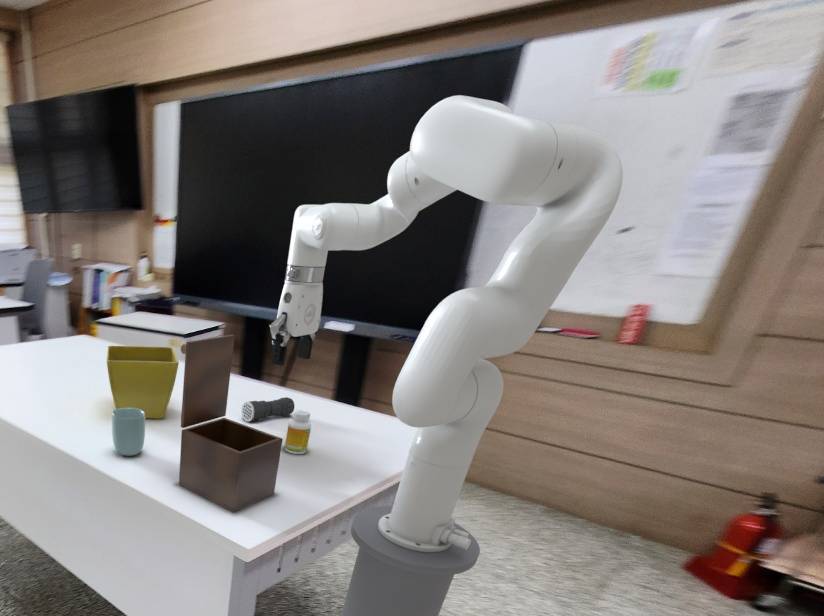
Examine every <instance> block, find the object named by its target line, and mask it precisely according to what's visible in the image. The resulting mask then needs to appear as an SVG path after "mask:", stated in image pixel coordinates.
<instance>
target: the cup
mask: <svg viewBox="0 0 824 616" xmlns="http://www.w3.org/2000/svg"><path fill="white" fill-rule="evenodd" d="M111 434H112V435H111V436H112V444H113V447H114V450H115V451H116V452H117V453H118V454H119V455H121V456H124V457H132V456H137V455H139V454H140V453H141V452H142V450H143V448H144V446H145V438H146V418H145V413H144V411H143V410H141V409H138V408H119V409H116V408H115V409H114V410H112V412H111Z"/></svg>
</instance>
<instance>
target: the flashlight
mask: <svg viewBox="0 0 824 616" xmlns="http://www.w3.org/2000/svg"><path fill="white" fill-rule="evenodd" d="M294 411H295V402H294V400H293V399H292V398H291V397H280V398H279V399H274V400H268V401H267V400H259V401H258V400H252V401H245V402H244V403H243V404H242V406H241V416H242V418H243V419H244V421H245V422H253V421H258V420H263V419H267V418H268V417H277V416H280V417H287V416H290V415H292V414H293V412H294Z"/></svg>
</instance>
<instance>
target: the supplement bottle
mask: <svg viewBox="0 0 824 616" xmlns="http://www.w3.org/2000/svg"><path fill="white" fill-rule="evenodd" d="M310 417H311V412H310V411H307V410H303V409H296V410H294V411H293V413H292V419H290V420H289V421H288V425H287V431H286V437H285V441H284V442H285V443H284V450H285V452H287V453H290V454H294V455H303V454H305V453H307V450H308V445H309V440H310V435H311V429H312V423H311V421H309V420H310Z"/></svg>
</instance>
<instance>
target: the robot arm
mask: <svg viewBox="0 0 824 616" xmlns="http://www.w3.org/2000/svg"><path fill="white" fill-rule="evenodd" d="M413 130H414V131H413V133H412V135H411V139H410V144H409V151H407V152H406V153H404V154H403V155H401V156H400V157H398V158H396V159H395V160H394V161H393V163H392V165H391V166H390V168H389V170H388V173H387V179H386V185H387V187H386V188H387V194H386V195H384V196H382V197H380V198H378V199H377V200H376V201H373V202H372V203H367V204H365V203H352V202H351V203H350V202H347V203H342V202H329V203H324V204H301V205H299V206H298V207H297V208H296V209H295V211H294V215H293V222H292V228H291V229H292V230H291V235H290V241H289V242H290V243H289V249H288V256H287V263H286V264H287V266H286V270H285V278H284V284H283V288H282V292H281V295H280V300H279V304H278V309H277V314H276V319H275V320H274V321H273V322H271V324H269V329H270V339H271V344H272V350H271V351H272V352H271V357H270V363H271V364H273V365H277V366H281V367H283V366H285V364H286V358H287V357H286V356H287V351H288V346H287V344H288V342H289V340H290V338H291V337H294V338H296V337H300V338H299V340H298V347H297V352H296V357H297V358H300V359H304V360H309V359H310V358H311V355H312V351H313V350H312V349H313V344H314V341H315V339H316V334H317V333H318V331H319V328H320V324H321V322H322V317H321V314H322V308H323V295H324V283H323V281H324V275H325V269H326V264H327V258H328V253H329V251H365V250H369V249H373V248H374V247H375V248H376V246H379V245H380V244H383V243H385V242H387V241H388V240H391V239H392V238H394V237H396V236H398V235H400V234H401V233H402V232H404V231H405V230H406V229H407V228H408V227H409V226H410V225H411V224H412V223H413V221H414V220H415V219H416V217H417V215H418V214H419V212H420V211H422V210H424V209H426V208H427V207H430V206H431V205H433V204H434V203H436V202H437V201H440V200H442V199H443V198H445V197H447V196H449V195H451V194H452V193H454V192H456V191H460V192H461V193H464V194H466V195H469V196H470V197H473V198H476V199H478V200H480V201H484V202H487V203H491V204H495V205H503V206H504V205H507V206H508V205H509V206H510V205H511V206H521V207H522V206H523V207H534V208H535V209H536V213H535V215H534V217H533V218H532V219H531V220H530V222H529V223H527V225H525V226H524V228H523V229H521V231H520V232H519V233H518V234H517V235H516V236H515V238H514V239H513V240H512V241H511V242H510V244H509V246H508V248H506V250H505V252H504V255H503V256H502V258H501V260H500V261H499V264H498V266H497V267H496V269H495V270H494V272H493V274H492V275H491V277H490V279H489V280H488V282H487V283H486V284H485V285H484V286H473V287H472V286H471V287H467V288H462V289H459V290H457V291H454V292H453V293H450V294H449V295H448V296H446V297H445V298H443V299H442V300H441V301H440V302H439V303H438V304H437V305H436V307H435V308H434V309H432V311H431V312H430V314H429V315H428V317H427V318H426V320H425V321H424V324H423V327H422V328H421V330H420V332H419V333H418V336H417V338H416V339H415V341H414V344H413V346H412V348H411V350H410V351H409V354H408V356H407V358H406V359H405V362H404V364H403V365H402V368H401V370H400V371H399V373H398V376H397V378H396V380H395V383H394V387H393V390H392V396H391V397H392V398H391V403H392V408H393V412H394V414H395V416H396V417H397V419H399V421H400V422H401V423H403V424H404V425H407V426H409V427H412V428H417V429H416V431H415V433H414V435H413V438H412V441H411V444H410V447H409V450H408V453H407V457H406V461H405V464H404V466H403V467H404V468H403V470H402V474H401V477H400V481H399V485H398V488H397V491H396V494H395V498H394V501H393V505H392V506H393V508H392V511H391V514H387V515H385V516H383V517H382V518H381V519H380V520H379V523H378V529H379V532H380V533H381V534H382V535H383V536H384V537H385V538H386V539H387V540H389V541H391V542H392V543H394V544H396V545H398V546H401V547H404V548H407V549H410V550H414V551H419V552H440V551H444V550H446V549H448V548H449V547H450V546H451V544H454V545H455V546H457V547H460V548H462V549H464V550H467V548H468V547H469V545H470V543H471V540H470V539H468V536H469V533H470V532H469V533H466V532H464V531H460V530H457V529H456V527H454V523H456V521H457V520H456V518H454V517H452V516H453V513H454V510H455V507H456V505H457V502H458V499H459V497H460V494H461V491H462V488H463V485H464V483H465V480H466V477H467V475H468V472H469V469H470V466H471V464H472V461H473V459H474V456H475V453H476V451H477V448H478V446H479V443H480V442H481V439H482V437H483V435H484V433H485V430H486V428H487V426H488V425H489V423H490V422H491V421H492V418H493V416H494V414H495V413H496V411H497V409H498V407H499V405H500V403H501V400H502V397H503V394H504V389H505V388H504V385H505V384H504V377H503V375H502V372H501V371H500V369H499V368H498V367H497V366H496V365H495V364H494V363H492V362H491V361H488V360H487V359H492V358H498V357H503V356H507V355H510V354H513V353H515V352H517V351H519V350H520V349H522V348H523V347H524V346H525V345H526V344H528V342H529V341H530V340H531V338H532V336H533V335H534V334H535V332H536V331H537V329H538V328H539V326H540V325H541V323H542V321H543V320H544V318H545V317H546V315H547V314H548V312H549V311H550V309H551V307H552V306H553V305H554V303H555V301H556V300H557V298H558V297H559V295H560V294H561V292H562V291H563V289H564V288H565V286H566V285H567V283H568V282H569V279H570V278H571V276H572V275H573V273H574V271H575V270H576V268H577V267H578V265H579V263H580V262H581V261H582V259H583V258H584V256H586V255H585V254H586V253H587V252H588V250H589V249H590V247H591V246H592V244H593V243H594V242H595V241H596V239H597V237H598V236H599V235H600V233H601V231H602V230H603V229H604V227H605V225H606V224H607V222H608V221H609V218H610V217H611V215H612V214H613V211H614V210H615V207H616V205H617V202H618V200H619V198H620V194H621V190H622V185H623V176H624V175H623V172H624V171H623V165H622V160H621V157H620V154H619V153H618V151H617V149H616V148H615V146H614V144H612V142H611V141H610V140H609V139H607V138H606V137H605V136H604V135H602V134H601V133H599V132H597V131H595V130H593V129H590V128H587V127H583V126H579V125H576V124H571V123H563V122H554V121H549V120H544V119H536V118H532V117H528V116H523V115H520V114H516V113H514V112H513V111H512V109H510V107H508V106H507V105H506V104H504V103H501V102H498V101H495V100H490V99H484V98H479V97H474V96H468V95H461V94H458V95H452V96H448V97H445V98H443V99H442V100H440V101H438V102H436V103H434V105H432V106H431V107H430V108H429V109H428V110H427V111H426V112H425V113H424V115H423V116H422V117H420V119H419V121H418V123H416V126H415V127H414V129H413ZM282 336H283V337H282Z"/></svg>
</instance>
